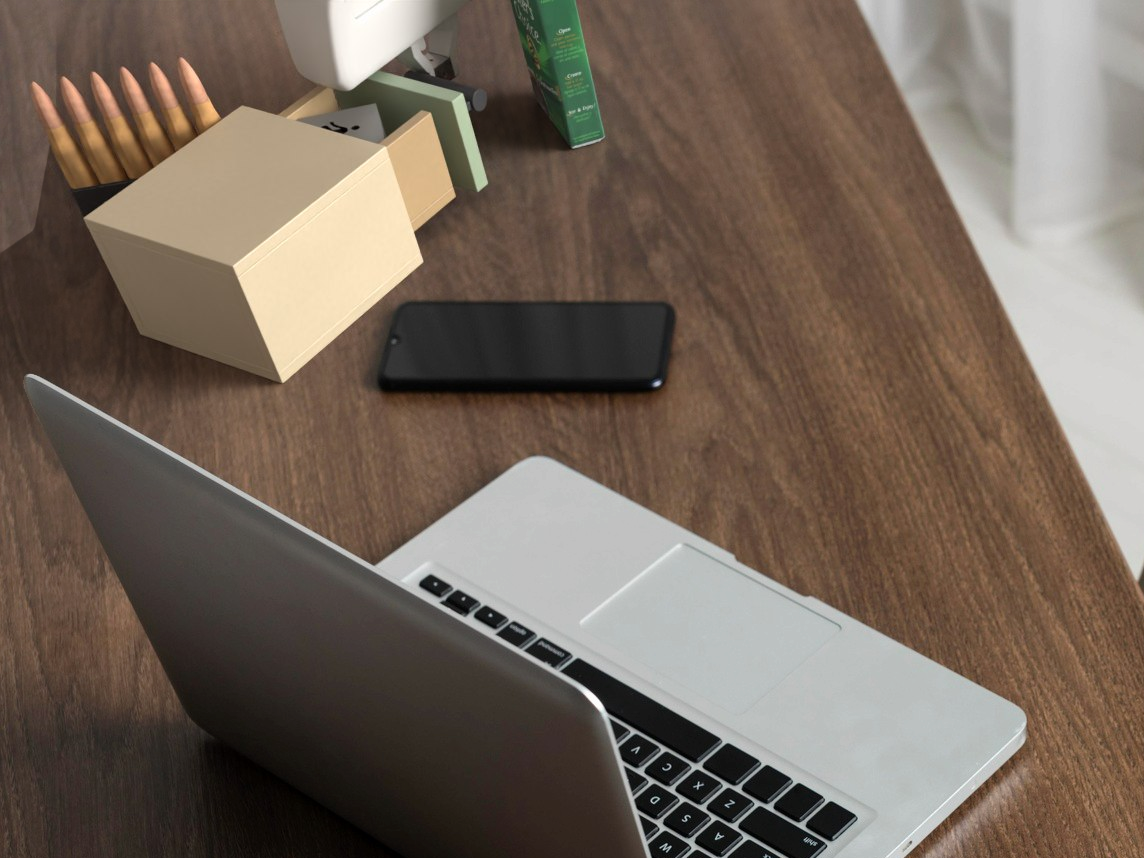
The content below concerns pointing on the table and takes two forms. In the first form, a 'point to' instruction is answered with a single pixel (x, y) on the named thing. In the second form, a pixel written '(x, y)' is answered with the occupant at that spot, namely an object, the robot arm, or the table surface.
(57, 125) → the ammunition clip
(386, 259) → the cabinet
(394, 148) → the drawer
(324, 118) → the dice cube
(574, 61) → the coffee box
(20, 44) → the table surface
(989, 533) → the table surface
